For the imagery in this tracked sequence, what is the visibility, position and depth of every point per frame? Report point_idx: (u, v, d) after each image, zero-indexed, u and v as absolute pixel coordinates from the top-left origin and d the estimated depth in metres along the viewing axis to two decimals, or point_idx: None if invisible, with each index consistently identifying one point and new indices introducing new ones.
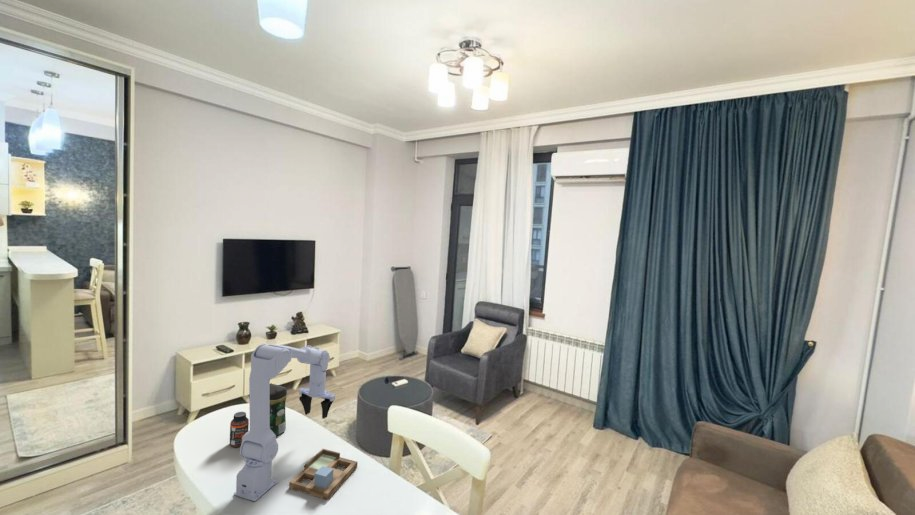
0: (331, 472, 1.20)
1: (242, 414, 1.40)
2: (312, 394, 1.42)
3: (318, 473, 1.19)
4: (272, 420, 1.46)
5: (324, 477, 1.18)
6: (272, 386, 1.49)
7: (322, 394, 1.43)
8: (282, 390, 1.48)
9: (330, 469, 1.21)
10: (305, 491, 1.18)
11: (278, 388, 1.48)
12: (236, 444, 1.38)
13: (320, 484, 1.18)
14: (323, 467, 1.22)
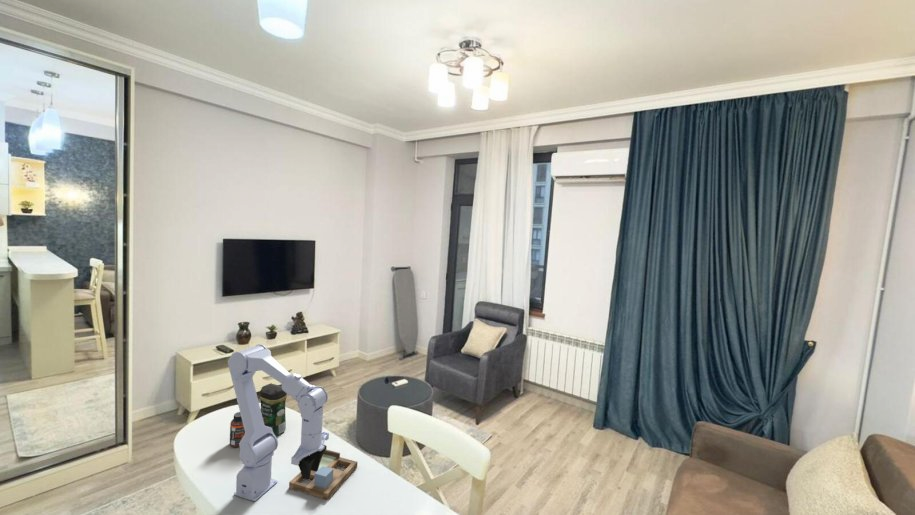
0: (331, 472, 1.20)
1: None
2: None
3: (318, 473, 1.19)
4: (272, 420, 1.46)
5: (324, 477, 1.18)
6: (272, 386, 1.49)
7: (302, 449, 1.10)
8: (282, 390, 1.48)
9: (330, 469, 1.21)
10: (305, 491, 1.18)
11: (278, 388, 1.48)
12: (236, 444, 1.38)
13: (320, 484, 1.18)
14: (323, 467, 1.22)
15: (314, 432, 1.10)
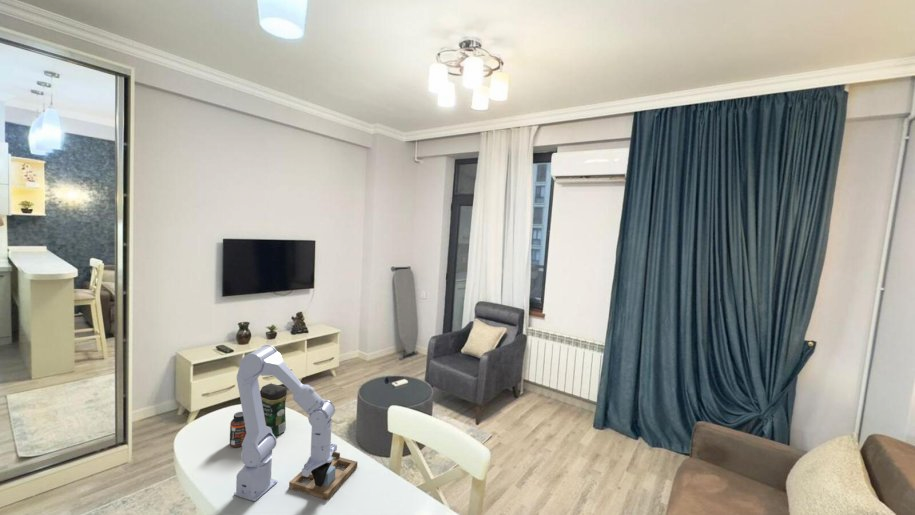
0: (333, 470, 1.22)
1: (242, 414, 1.40)
2: None
3: None
4: (272, 420, 1.46)
5: (327, 475, 1.19)
6: (272, 386, 1.49)
7: (312, 461, 1.15)
8: (282, 390, 1.48)
9: (332, 467, 1.22)
10: (305, 491, 1.18)
11: (278, 388, 1.48)
12: (236, 444, 1.38)
13: None
14: None
15: (325, 444, 1.15)
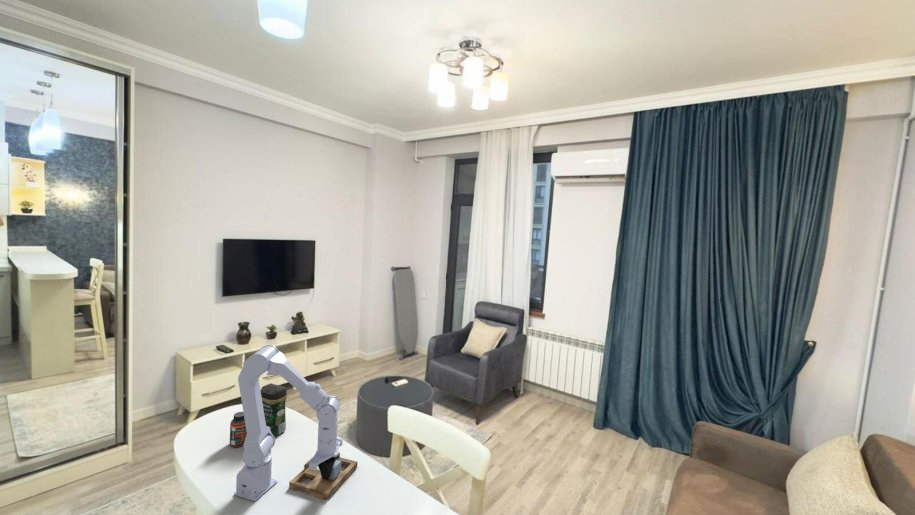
0: (339, 464, 1.25)
1: (242, 414, 1.40)
2: None
3: None
4: (272, 420, 1.46)
5: (333, 469, 1.22)
6: (272, 386, 1.49)
7: (319, 455, 1.18)
8: (282, 390, 1.48)
9: (338, 461, 1.25)
10: (305, 491, 1.18)
11: (278, 388, 1.48)
12: (236, 444, 1.38)
13: None
14: None
15: (333, 438, 1.19)
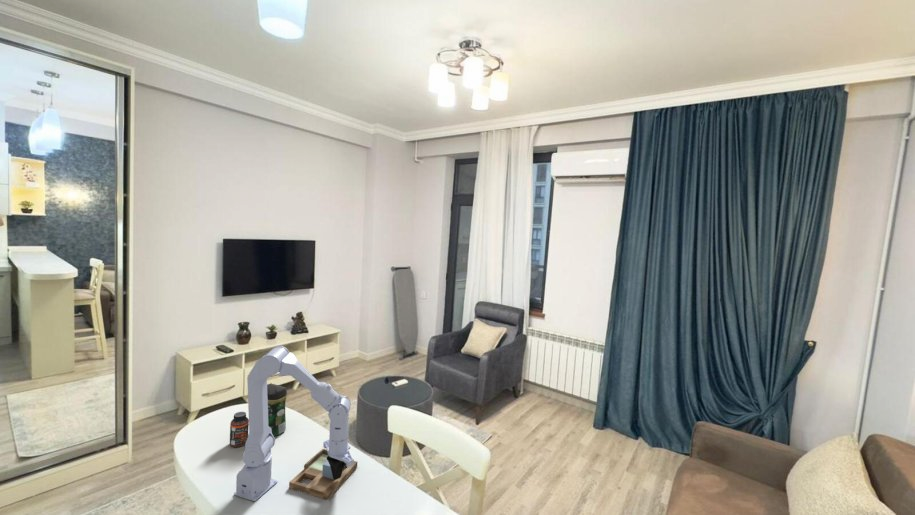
0: None
1: (242, 414, 1.40)
2: (330, 453, 1.19)
3: (326, 464, 1.23)
4: (272, 420, 1.46)
5: None
6: (272, 386, 1.49)
7: (341, 455, 1.19)
8: (282, 390, 1.48)
9: None
10: (305, 491, 1.18)
11: (278, 388, 1.48)
12: (236, 444, 1.38)
13: (328, 475, 1.23)
14: None
15: (345, 437, 1.19)
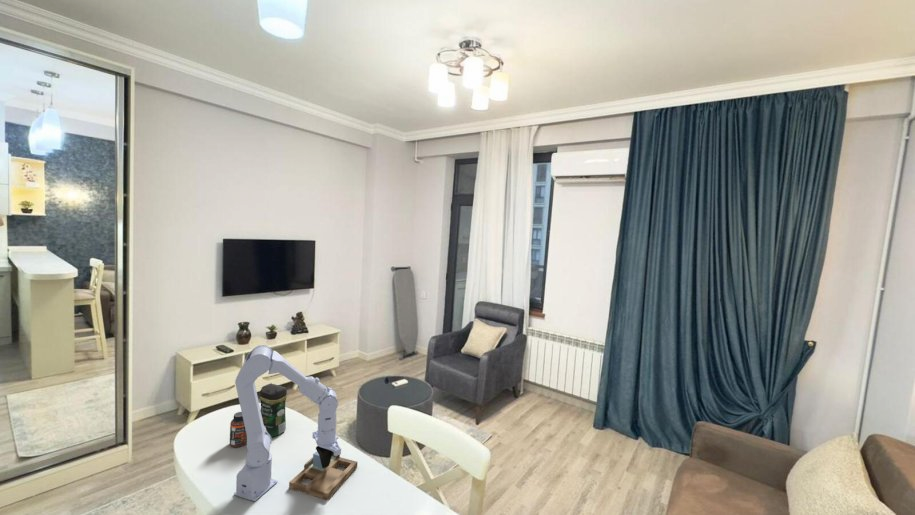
0: None
1: None
2: (318, 442, 1.24)
3: (316, 454, 1.28)
4: (272, 420, 1.46)
5: None
6: (272, 386, 1.49)
7: (329, 444, 1.24)
8: (282, 390, 1.48)
9: None
10: (305, 491, 1.18)
11: (278, 388, 1.48)
12: (236, 444, 1.38)
13: (318, 464, 1.28)
14: None
15: (334, 426, 1.25)
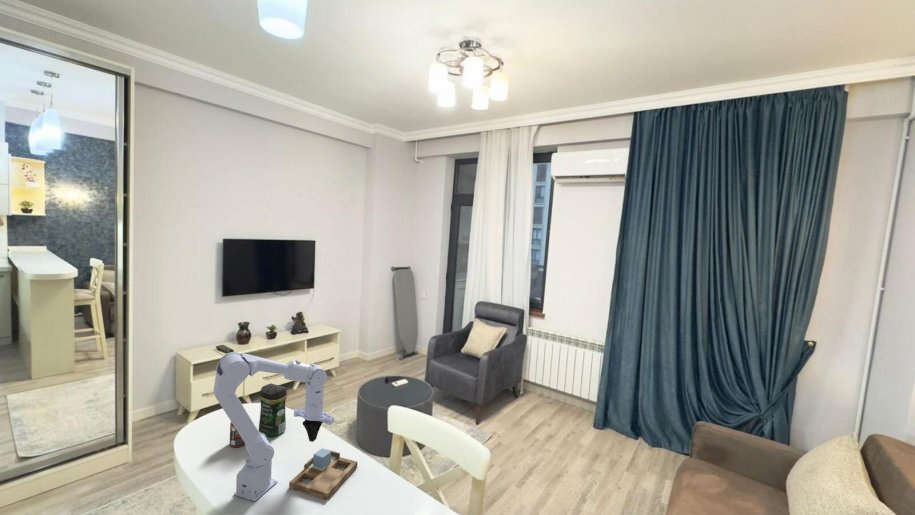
0: (329, 454, 1.30)
1: None
2: (308, 417, 1.26)
3: (316, 454, 1.28)
4: (272, 420, 1.46)
5: (322, 458, 1.27)
6: (272, 386, 1.49)
7: (319, 416, 1.27)
8: (282, 390, 1.48)
9: (328, 451, 1.30)
10: (305, 491, 1.18)
11: (278, 388, 1.48)
12: (236, 444, 1.38)
13: (318, 464, 1.28)
14: (322, 449, 1.31)
15: None
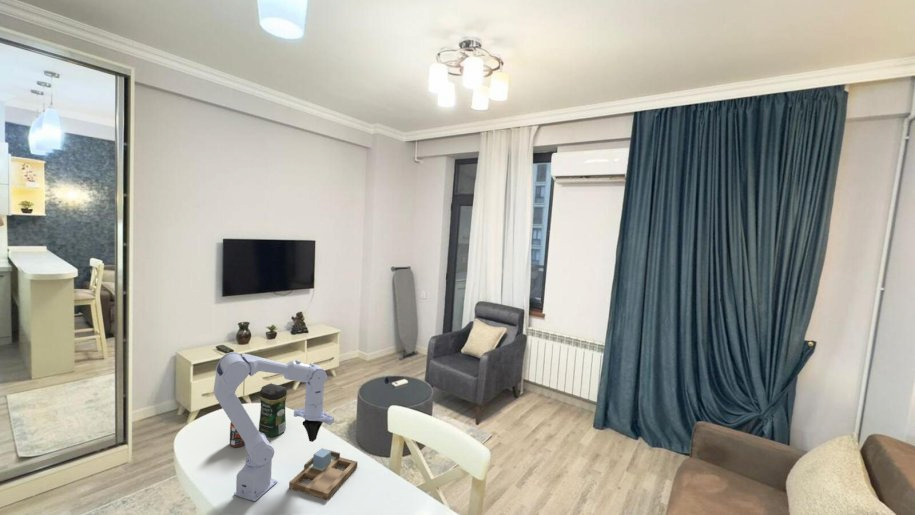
0: (329, 454, 1.30)
1: None
2: (308, 417, 1.26)
3: (316, 454, 1.28)
4: (272, 420, 1.46)
5: (322, 458, 1.27)
6: (272, 386, 1.49)
7: (319, 416, 1.27)
8: (282, 390, 1.48)
9: (328, 451, 1.30)
10: (305, 491, 1.18)
11: (278, 388, 1.48)
12: (236, 444, 1.38)
13: (318, 464, 1.28)
14: (322, 449, 1.31)
15: (322, 399, 1.29)
